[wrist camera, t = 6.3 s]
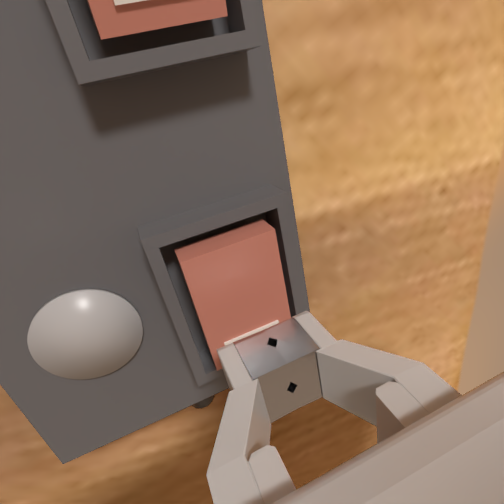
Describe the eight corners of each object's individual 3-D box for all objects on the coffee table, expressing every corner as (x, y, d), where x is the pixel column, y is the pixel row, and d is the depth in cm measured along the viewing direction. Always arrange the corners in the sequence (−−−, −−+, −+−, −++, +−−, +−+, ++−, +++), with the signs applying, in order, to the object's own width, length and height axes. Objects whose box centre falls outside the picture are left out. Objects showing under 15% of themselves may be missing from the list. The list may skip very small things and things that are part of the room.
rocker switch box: (-411, -311, 6) (-1099, -858, 3) (168, -290, 9) (208, -558, 5) (89, 431, 16) (83, 524, 13) (291, 341, 19) (334, 397, 15)
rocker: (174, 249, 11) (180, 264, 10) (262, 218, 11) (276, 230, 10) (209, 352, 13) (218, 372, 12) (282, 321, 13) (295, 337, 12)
